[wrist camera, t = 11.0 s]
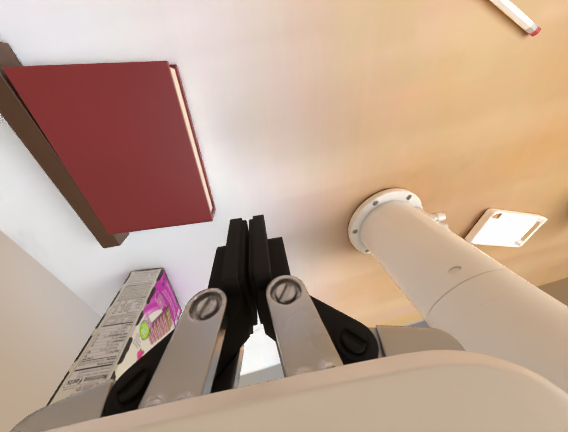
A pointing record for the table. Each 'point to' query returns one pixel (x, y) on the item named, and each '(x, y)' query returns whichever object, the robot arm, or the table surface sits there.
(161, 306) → the candy bar box
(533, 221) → the phone case
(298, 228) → the table surface
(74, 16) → the table surface
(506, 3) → the pencil
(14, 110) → the rail
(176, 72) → the book
